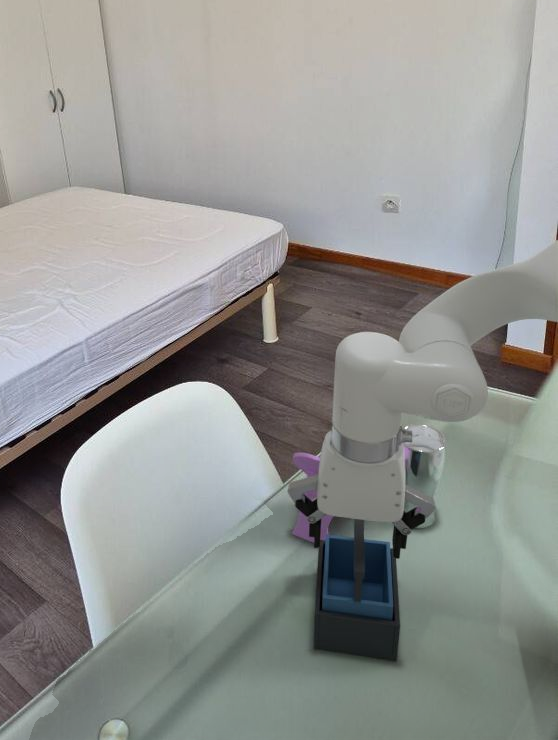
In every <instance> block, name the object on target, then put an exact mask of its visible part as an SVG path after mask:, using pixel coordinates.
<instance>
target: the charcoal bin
mask: <svg viewBox="0 0 558 740" xmlns="http://www.w3.org/2000/svg"><path fill="white" fill-rule="evenodd" d="M325 542H326V540H324V541H323V540H320V547H318V553H317V567H316V581H315V582H316V583H315V600H314V612H313V613H314V615H313V616H314V617H313V619H314V621H313V650H317V651H322V652H323V651H324V652H330V653H337V654H343V655H349V656H354V657H355V656H357V657H363V658H368V659H369V658H370V659H375V660H381V661H382V660H383V661H389V662H395V663H397V662H398V652H399V643H400V633H401V617H400V616H401V615H400V601H399V600H400V598H399V597H400V596H399V585H398V584H399V583H398V582H399V581H398V566H397V558H395V557H393V547H390V555H391V574H392V592H393V616H392V621H389V620H382V619H375V618H368V617H361V616H354V615H347V614H340V613H333V612H325V611H322V597H323V579H324V560H325Z"/></svg>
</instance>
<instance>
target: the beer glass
mask: <svg viewBox="0 0 558 740" xmlns="http://www.w3.org/2000/svg"><path fill="white" fill-rule="evenodd" d="M402 429H406V430H409V431H412V432H413V439H412V443H411V442H405V443H403V445H404V451H405V470H406V474H405V484H406V485H408V486H410V487H412V488H414V489H416V490H418V491H420V492H422V493H424V494H426V495H428V496H430V497H432V498H433V499H434V500H435V499H436V495H437V493H438V490H439V487H440V485H441V482H442V479H443V476H444V473H445V466H446V458H447V457H446V456H447V455H446V454H447V451H446V450H447V447H446V446H447V438H446V435H444V433H443V432H442V431H441V430H439V429H438V428H436V427H433V426H432V425H428V424H423V423H414V424H409V425H406V426H404V427H402ZM415 507H418V506H416V505H414V504H412V503H410V502H408V501H406V500H405V501H404V508H405V510H406V511H407V512H408V511H410V510H412V509H414V508H415ZM435 520H436V509H435V510H434V511H433V512H432V514H431V515H430V516H429V517H427V518H426V519H425V522H424V523H423V524H421V525H419V526H417V527H415V528H414V529H426V528H428V527H430V526H432V525H433V524H434V522H435Z"/></svg>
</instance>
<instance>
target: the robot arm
mask: <svg viewBox="0 0 558 740" xmlns="http://www.w3.org/2000/svg"><path fill="white" fill-rule="evenodd" d="M524 320H525V321H526V320H544V321H549V322H555V323H558V239H557V240H555V241H554V242H552V243H551V244H550V245H548V246H547V247H546V248H544V249H542V250H541V251H540V252H538V253H537V254H536V255H534V256H532V257H530V258H528V259H526V260H523V261H520V262H516V263H512V264H508V265H504V266H500V267H498V268H494V269H492V270H488V271H485V272H482V273H479V274H476V275H474V276H471V277H468V278H466V279H463V280H462V281H460V282H458V283H456V284H454V285H453V286H452V287H449V289H447V290H446V291H444V292H442V294H440V295H438V296H437V297H436V298H434V299H433V300H431V302H429V303H428V304H426V305H425V306H424V307H423V308H421V309H420V310H419V311H418V312H416V313H415V314H414V315H413V316H412V317H411V318H410V319H409V321H408V322H407V323H406V324H405V325H404V327H403V329H402V331H401V332H400V335H399V339H398V340H397V339H396V338H394V337H392V336H390V335H387V334H384V333H380V332H375V331H361V332H356V333H355V332H354V333H352V334H350V335H348V336H347V335H346V337H344V338H343V339H342V340H341V341H340V342H339V344H338V345H337V347H336V350H335V356H334V357H335V358H334V375H333V376H334V377H333V394H332V396H333V397H332V414H331V415H332V417H331V430H329V431H328V432H327V433H326V434H325V436H324V439H323V442H322V445H321V450H320V456H319V457H320V462H319V472H318V475H314V476H311V477H307V478H305V477H304V478H301V479H297V480H293V481H290V482H289V483H288V485H287V494H288V496H289V497H290V498H291V500H292V502H293V503H294V506H295V508H296V509H297V511H298V510H299V511H301V512H302V513H303V514H304V515H305V516H306V517H307V521H308V522H309V537H314V543H313V548H314V549H319V547H320V535H321V518H323V517H324V516H325V515H327V514H328V515H331V516H334V517H338V518H345V519H353V520H354V519H361V520H364V521H369V522H379V523H380V522H381V523H391V524H392V525H393V530H392V537H391V539H392V540H391V541H392V548H393V557H395V558H396V560H398V559H401V558H400V556H401V550H402V549H403V550H406V549H407V541H408V536H410V535H411V533H412V530H413V529H416V528H415V527H417V526H419V525H421V524H423V523H424V522H425V519H426V518H427V517H429V516H430V515H431V514H432V512H433V511H434V510H435V511H436V509H437V506H436V501H435V499H433V498H432V497H430V496H428V495H426V494H424V493H422V492H420V491H418V490H416V489H414V488H412V487H410V486H408V485H406V484H405V474H406V470H405V451H404V445H403V443H405V442H411V443H412V439H413V432H412V431H409V430H406V429H403V426H402V425H401V422H402V414H406V415H411V416H415V417H419V418H424V419H427V420H432V421H437V422H443V423H444V422H445V423H459V422H465V421H467V420H470V419H472V418H474V417H476V416H477V415H479V414H480V413H481V412H482V411H483V409H485V406H486V404H487V401H488V398H489V390H488V389H489V388H488V384H487V380H486V378H485V375H484V373H483V371H482V368H481V367H480V365H479V362H478V360H477V358H476V355H475V353H474V351H473V349H472V345H474V344H476V343H477V342H478V341H480V340H481V339H483V338H484V337H486V336H487V335H489V334H490V333H492V332H494V331H495V330H497V329H499V328H501V327H503V326H506V325H508V324H511V323H514V322H518V321H524ZM314 490H317V496H316V497H315V498H314V499H312V500H310V499H309V498H308V497H307V496H306V495H304V494H303V493H307V492H310V491H314ZM405 500H406V501H408V502H410V503H412V504H414V505H416V506H418V507H415V508H414V509H412V510H410V511H408V512H407V511H406V510H405V508H404V501H405Z"/></svg>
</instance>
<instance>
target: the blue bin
mask: <svg viewBox="0 0 558 740" xmlns="http://www.w3.org/2000/svg"><path fill="white" fill-rule="evenodd" d="M390 548H391V542H390V541H385V540H384V541H383V540H375V539H367V538H365V520H361V519H353V537H349V536H340V535H334V534H333V535H332V534H328V535H326V542H325V560H324V579H323V597H322V611H325V612H333V613H340V614H347V615H354V616H361V617H368V618H375V619H382V620H389V621H392V616H393V592H392V574H391V555H390Z"/></svg>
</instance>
